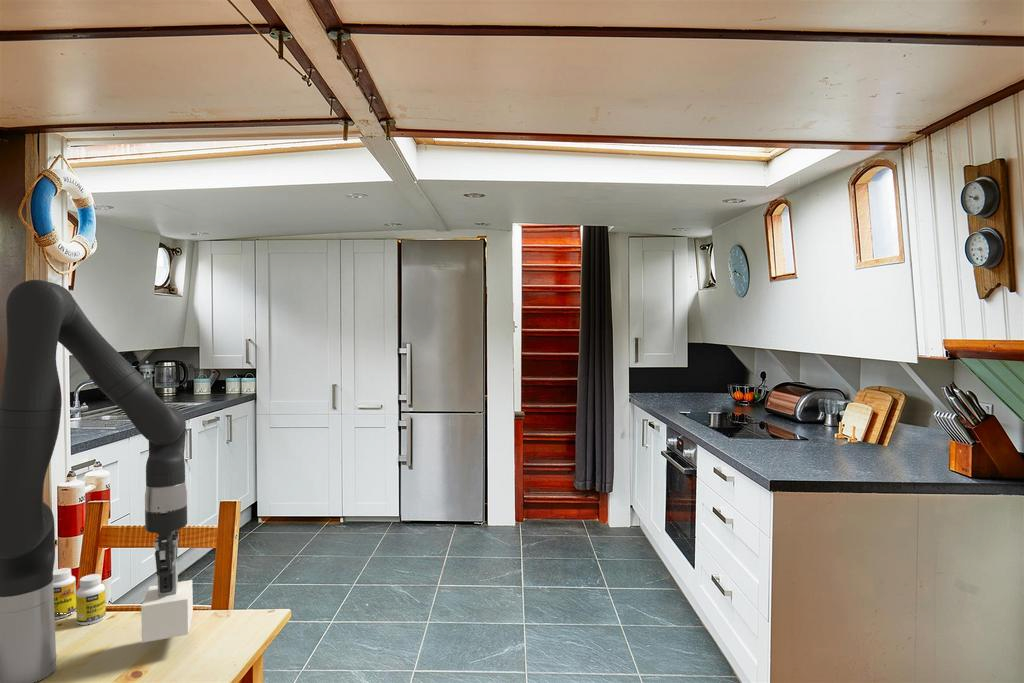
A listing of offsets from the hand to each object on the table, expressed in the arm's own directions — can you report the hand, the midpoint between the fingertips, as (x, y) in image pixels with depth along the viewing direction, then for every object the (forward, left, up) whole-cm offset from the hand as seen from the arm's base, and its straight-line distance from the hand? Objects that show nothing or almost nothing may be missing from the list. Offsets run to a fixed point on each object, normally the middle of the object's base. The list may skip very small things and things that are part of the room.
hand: (167, 587), depth 123 cm
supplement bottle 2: (-18, +21, -12) cm, 30 cm away
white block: (0, 0, -8) cm, 8 cm away
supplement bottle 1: (-25, +27, -12) cm, 38 cm away
